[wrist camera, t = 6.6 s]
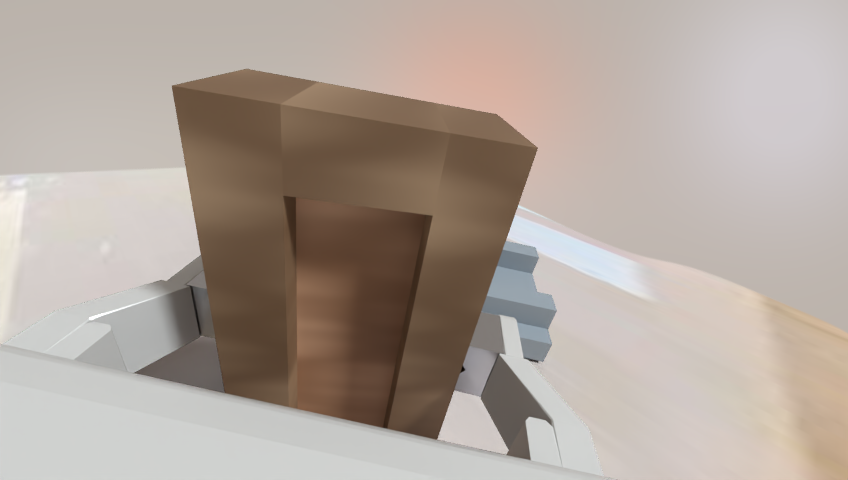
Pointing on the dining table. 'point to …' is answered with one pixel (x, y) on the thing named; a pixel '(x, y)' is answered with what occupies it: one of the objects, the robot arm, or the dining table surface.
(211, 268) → the frame
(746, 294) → the dining table surface
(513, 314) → the picture stand
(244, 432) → the robot arm
